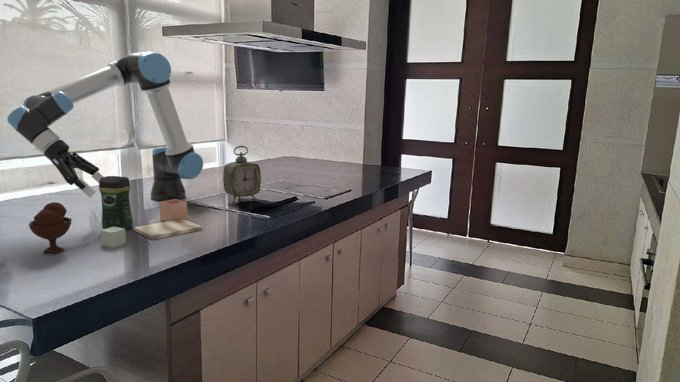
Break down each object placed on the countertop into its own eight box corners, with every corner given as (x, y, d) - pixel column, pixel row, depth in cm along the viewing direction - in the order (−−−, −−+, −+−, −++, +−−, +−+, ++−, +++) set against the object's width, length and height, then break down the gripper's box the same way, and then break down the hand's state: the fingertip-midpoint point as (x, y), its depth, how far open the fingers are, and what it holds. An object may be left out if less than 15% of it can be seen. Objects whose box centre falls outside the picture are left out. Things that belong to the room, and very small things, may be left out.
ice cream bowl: (43, 246, 151) (38, 199, 148) (80, 246, 152) (76, 199, 149) (24, 258, 141) (18, 207, 138) (64, 257, 142) (60, 207, 139)
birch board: (182, 221, 183) (182, 218, 182) (201, 229, 173) (201, 226, 173) (134, 230, 170) (134, 227, 170) (151, 239, 160) (151, 236, 160)
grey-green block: (114, 241, 158) (113, 226, 157) (126, 243, 156) (125, 228, 155) (101, 245, 154) (100, 230, 153) (112, 248, 152) (111, 232, 151)
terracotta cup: (176, 216, 190) (175, 199, 189) (187, 219, 186) (186, 201, 185) (160, 220, 185) (159, 202, 183) (171, 223, 181) (171, 204, 179)
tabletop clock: (232, 206, 208) (230, 147, 203) (221, 202, 215) (220, 145, 210) (261, 201, 218) (260, 145, 213) (250, 198, 225) (249, 143, 220)
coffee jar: (136, 226, 176) (133, 175, 172) (123, 232, 168) (119, 178, 165) (112, 224, 178) (108, 173, 174) (98, 230, 170) (94, 177, 166)
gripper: (62, 149, 177) (107, 190, 182) (23, 159, 153) (77, 206, 157) (76, 135, 177) (121, 176, 181) (39, 142, 152) (93, 190, 157)
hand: (101, 190), depth 169 cm, fingers open, 13 cm apart
